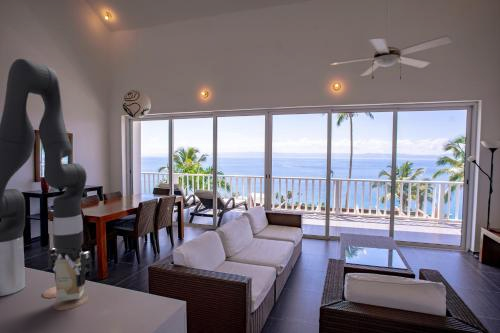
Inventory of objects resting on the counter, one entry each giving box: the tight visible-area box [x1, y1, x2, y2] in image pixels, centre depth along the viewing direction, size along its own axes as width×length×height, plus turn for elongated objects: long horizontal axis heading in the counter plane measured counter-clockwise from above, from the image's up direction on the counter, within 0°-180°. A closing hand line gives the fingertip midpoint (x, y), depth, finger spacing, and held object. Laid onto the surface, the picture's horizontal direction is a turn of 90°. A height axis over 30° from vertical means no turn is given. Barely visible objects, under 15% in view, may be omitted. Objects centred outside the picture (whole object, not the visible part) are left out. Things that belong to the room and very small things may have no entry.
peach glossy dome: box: [42, 285, 57, 299], centre depth 94 cm, size 8×8×1 cm
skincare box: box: [55, 258, 84, 301], centre depth 87 cm, size 6×4×12 cm
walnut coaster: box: [52, 293, 89, 311], centre depth 87 cm, size 9×9×1 cm
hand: (70, 284), depth 87 cm, fingers open, 7 cm apart
